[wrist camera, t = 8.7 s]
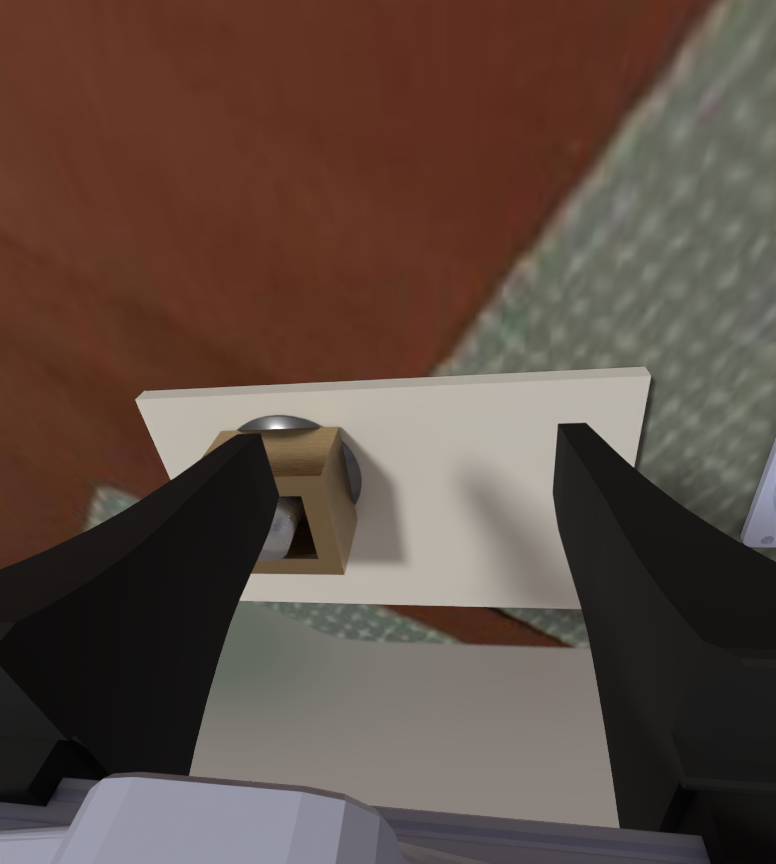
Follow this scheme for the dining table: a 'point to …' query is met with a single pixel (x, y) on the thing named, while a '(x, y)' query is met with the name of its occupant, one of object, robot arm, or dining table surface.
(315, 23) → the dining table surface
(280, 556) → the steel post
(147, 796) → the robot arm
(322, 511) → the bronze collar
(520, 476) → the pale board
